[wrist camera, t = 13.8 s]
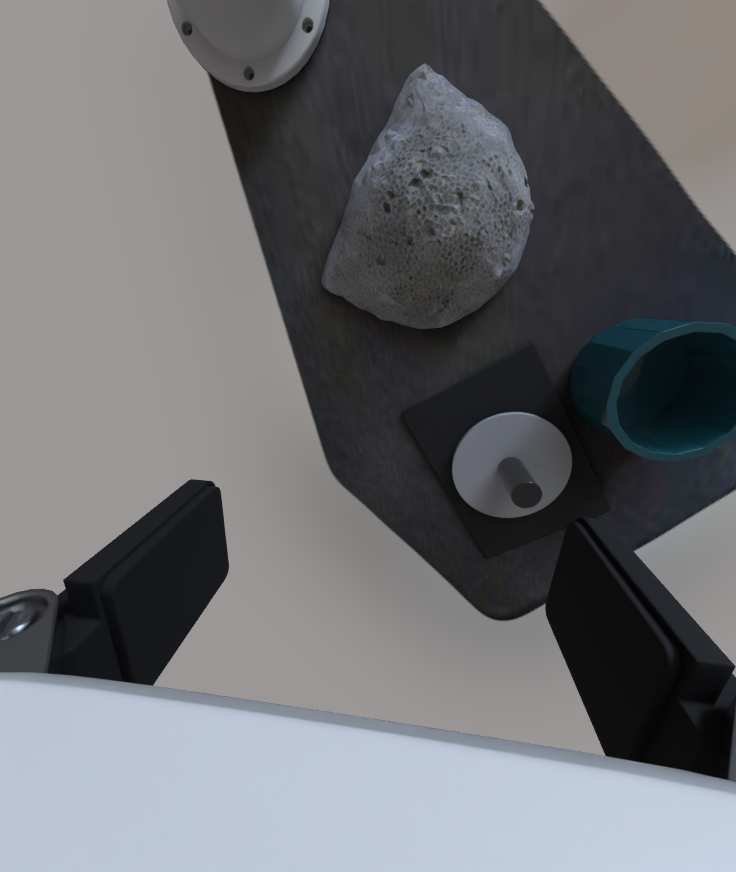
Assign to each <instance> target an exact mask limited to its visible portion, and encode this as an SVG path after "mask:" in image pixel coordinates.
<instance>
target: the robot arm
mask: <svg viewBox="0 0 736 872" xmlns="http://www.w3.org/2000/svg"><path fill="white" fill-rule="evenodd" d="M167 2H168V6H169V9H170V12H171V15H172V19H173V22H174V24H175V26H176V28H177V30H178V32H179V35H180V37H181V39H182V41H183V42H184V44H185V45H186V47H187V48H188V50H189V51H190V53H191V54H192V56H193V57H194V58H195V59H196V60H197V61H198V62H199V64H200V65H201V66H202V67H203V68H204V69H205V70H206V71H207V72H208V73H209V74H211V75H212V76H213V77H214V78H215V79H216V80H218V81H220V82H221V83H223V84H225V85H227V86H228V87H230V88H234V89H237V90H240V91H244V92H262V91H267V90H272V89H274V88H276V87H278V86H280V85H282V84H284V83H286V82H287V81H289V80H290V79H291V78H292V77H294V76H295V75H296V74H297V73H298V72H299V71H300V70H301V69H302V68H303V66H304V65H305V64H306V63H307V62H308V60H309V59H310V57H311V55H312V53H313V52H314V50H315V48H316V46H317V45H318V42H319V39H320V37H321V34H322V32H323V29H324V26H325V22H326V17H327V12H328V8H329V0H167ZM309 30H312V31H311V32H310V33H308V32H309ZM253 76H254V77H253ZM252 77H253V79H252V80H251V78H252ZM228 569H229V562H228V553H227V544H226V536H225V526H224V517H223V508H222V499H221V492H220V489H219V488H218V487H215V484H214V483H213V482H212V481H204V480H192V479H191V480H189V481H187V482H186V483H185V484H184V485H182V486H181V487H180V488H179V489H178V490H176V491H175V492H174V493H172V494H171V495H170V496H169V497H167V498H166V499H165V500H164V501H162V502H161V503H160V504H158V505H157V506H156V507H155V508H153V509H152V510H151V511H150V512H148V513H147V514H146V515H145V516H143V517H142V518H141V519H140V520H138V521H137V522H136V523H135V524H133V525H132V526H131V527H130V528H128V529H127V530H126V531H124V532H123V533H122V534H121V535H119V536H118V537H117V538H116V539H114V540H113V541H112V542H111V543H109V544H108V545H107V546H106V547H104V548H103V549H102V550H101V551H99V552H98V553H97V554H95V556H93V557H92V558H90V559H89V560H88V561H87V562H85V563H84V564H83V565H82V566H80V567H79V568H78V569H77V570H75V571H74V572H73V573H72V574H70V575H69V576H68V577H67V578H65V579H64V580H63V581H64V584H65V587H66V589H65V590H64V591H63V592H62V593H60V594H59V595H58V596H57V595H56V594H55V593H54V592H53V591H50V590H45V589H30V590H26V591H21V592H16V593H14V594H11V595H8V596H5V597H2V598H0V872H736V677H735V676H734V675H733V674H732V672H733V670H734V668H735V665H734V664H733V663H732V662H731V661H730V660H729V659H728V658H727V656H726V655H725V654H724V653H723V652H722V651H721V650H720V649H719V647H718V646H717V645H716V644H715V643H714V642H713V641H712V640H711V639H710V637H709V636H708V635H707V634H706V633H705V632H704V630H702V628H701V627H700V626H699V625H698V624H697V623H696V621H695V620H694V619H693V618H692V617H691V616H690V615H689V614H688V612H687V611H686V610H685V609H684V608H683V607H682V606H681V605H680V604H679V602H678V601H677V600H676V599H675V598H674V597H673V596H672V594H671V593H670V592H669V591H668V590H667V589H666V588H665V587H664V585H663V584H662V583H661V582H660V581H659V580H658V579H657V578H656V576H655V575H654V574H653V573H652V572H651V571H650V570H649V569H648V567H647V566H646V565H645V564H644V563H643V562H642V561H641V559H639V557H638V556H637V555H636V554H635V553H634V552H633V550H632V549H631V548H630V547H629V546H628V545H627V544H626V543H625V541H624V540H623V539H622V538H621V537H620V536H619V535H618V534H617V532H616V531H615V530H614V529H613V528H612V527H611V526H610V525H609V523H608V522H607V521H605V520H604V519H596V518H585V517H578V518H577V519H576V520H575V522H570V523H569V524H568V526H567V528H566V532H565V536H564V539H563V543H562V546H561V550H560V554H559V557H558V561H557V564H556V568H555V572H554V575H553V579H552V583H551V586H550V590H549V593H548V597H547V601H546V608H545V609H546V616H547V619H548V621H549V624H550V626H551V628H552V631H553V633H554V636H555V638H556V640H557V643H558V645H559V647H560V650H561V652H562V654H563V657H564V659H565V661H566V664H567V666H568V668H569V671H570V673H571V675H572V678H573V680H574V682H575V685H576V687H577V690H578V692H579V694H580V696H581V699H582V701H583V704H584V706H585V708H586V711H587V713H588V715H589V718H590V720H591V722H592V725H593V727H594V729H595V732H596V734H597V736H598V739H599V741H600V744H601V746H602V748H603V751H604V753H605V755H606V756H601V755H595V754H590V753H585V752H579V751H573V750H566V749H560V748H554V747H548V746H542V745H535V744H529V743H522V742H517V741H510V740H504V739H497V738H491V737H485V736H479V735H472V734H467V733H460V732H454V731H448V730H442V729H435V728H428V727H422V726H416V725H410V724H403V723H397V722H390V721H384V720H377V719H370V718H365V717H358V716H352V715H345V714H338V713H332V712H325V711H319V710H312V709H306V708H298V707H292V706H285V705H280V704H272V703H266V702H259V701H253V700H246V699H239V698H233V697H226V696H219V695H212V694H205V693H198V692H192V691H185V690H178V689H172V688H165V687H158V686H153V684H154V683H155V681H156V680H157V679H158V677H159V676H160V674H161V673H162V671H163V670H164V668H165V667H166V665H167V664H168V662H169V661H170V659H171V658H172V656H173V655H174V654H175V652H176V651H177V649H178V647H179V646H180V645H181V643H182V642H183V640H184V639H185V637H186V636H187V634H188V633H189V631H190V630H191V628H192V627H193V626H194V624H195V622H196V621H197V620H198V618H199V617H200V615H201V614H202V612H203V611H204V609H205V608H206V606H207V605H208V604H209V602H210V601H211V599H212V598H213V596H214V595H215V593H216V592H217V590H218V589H219V587H220V586H221V584H222V583H223V581H224V580H225V578H226V576H227V574H228Z"/></svg>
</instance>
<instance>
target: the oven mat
mask: <svg viewBox="0 0 736 872" xmlns="http://www.w3.org/2000/svg"><path fill="white" fill-rule="evenodd" d="M507 412H524V413H530V414H533V415H537V416H539V417H542V418H544V419H545V420H547V421H549V422H550V423H552V424H553V425H554V426H555V427H557V428H558V429H559V431H560V432H561V433H562V434H563V435H564V437H565V438H566V440H567V442H568V444H569V447H570V450H571V455H572V468H571V474H570V477H569V479H568V482H567V484H566V486H565V487H564V489H563V490H562V492H561V493H560V494H559V495H558V497H557V498H556V499H555V500H553V501H552V502H551V503H550V504H549V505H547V506H546V507H544V508H542V509H541V510H539V511H537V512H534V513H532V514H529V515H525V516H521V517H514V518H500V517H494V516H490V515H487V514H484V513H482V512H480V511H478V510H476V509H474V508H473V507H471V506H470V505H469V504H468V503H467V502H466V501H465V500H464V499H463V498H462V497H461V496H460V494H459V492H458V491H457V489H456V486H455V484H454V480H453V476H452V459H453V455H454V452H455V449H456V447H457V445H458V443H459V441H460V440H461V439H462V437H463V436H464V435H465V434H466V433H467V432H468V430H470V429H471V428H472V427H473V426H474V425H476V424H477V423H479V422H480V421H482V420H484V419H486V418H488V417H491V416H494V415H497V414H501V413H507ZM401 415H402V417H403V418H404V420H405V422H406V423H407V425H408V427H409V428H410V430H411V432H412V433H413V435H414V437H415V438H416V440H417V442H418V443H419V445H420V447H421V448H422V450H423V452H424V454H425V455H426V457H427V459H428V460H429V462H430V464H431V465H432V467H433V469H434V470H435V472H436V474H437V475H438V477H439V479H440V480H441V482H442V484H443V485H444V487H445V489H446V490H447V492H448V494H449V496H450V497H451V499H452V501H453V502H454V504H455V506H456V507H457V509H458V511H459V512H460V514H461V516H462V517H463V519H464V521H465V522H466V524H467V526H468V527H469V529H470V531H471V533H472V534H473V536H474V538H475V539H476V541H477V543H478V544H479V546H480V548H481V549H482V551H483V553H484V554H485V556H486V558H490V557H492V556H495V555H498V554H500V553H503V552H505V551H508V550H510V549H513V548H515V547H518V546H521V545H523V544H526V543H528V542H531V541H533V540H536V539H539V538H541V537H544V536H546V535H549V534H551V533H554V532H557V531H559V530H562V529H564V528H567V526H568V524H569V523H570V522H575V520H576V519H577V518H578V517H585V518H593V517H595V516H598V515H600V514H603V513H605V512H608V511H611V508H610V506H609V504H608V502H607V500H606V498H605V495H604V493H603V491H602V489H601V487H600V485H599V483H598V480H597V478H596V476H595V474H594V472H593V470H592V468H591V465H590V463H589V461H588V459H587V457H586V455H585V452H584V450H583V448H582V446H581V444H580V442H579V440H578V437H577V435H576V433H575V431H574V429H573V427H572V425H571V422H570V420H569V418H568V416H567V414H566V412H565V410H564V407H563V405H562V403H561V401H560V399H559V397H558V394H557V392H556V390H555V388H554V386H553V384H552V382H551V379H550V377H549V375H548V373H547V371H546V369H545V367H544V364H543V362H542V360H541V358H540V356H539V354H538V351H537V349H536V347H535V345H534V343H532V342H531V343H529V344H527V345H526V346H524V347H522V348H520V349H518V350H516V351H515V352H513V353H511V354H509V355H507V356H505V357H504V358H502V359H500V360H498V361H496V362H494V363H492V364H491V365H489V366H487V367H485V368H483V369H481V370H480V371H478V372H476V373H474V374H472V375H470V376H469V377H467V378H465V379H463V380H461V381H459V382H457V383H456V384H454V385H452V386H450V387H448V388H446V389H445V390H443V391H441V392H439V393H437V394H435V395H434V396H432V397H430V398H428V399H426V400H424V401H423V402H421V403H419V404H417V405H415V406H413V407H411V408H410V409H408V410H406V411H404V412H402V414H401Z"/></svg>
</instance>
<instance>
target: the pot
mask: <svg viewBox="0 0 736 872" xmlns="http://www.w3.org/2000/svg"><path fill="white" fill-rule="evenodd" d="M569 392H570V397H571V401H572V403H573V405H574V408H575V409H576V411H577V412H578V413H579V415H580V416H581V417H582V418H583V419H584V420H585V421H586V422H587V423H588V424H590V425H591V426H593V427H594V428H596V429H597V430H599V431H600V432H602V433H603V434H604V435H606V436H607V437H609V438H610V439H612V440H613V441H615V442H616V443H618V444H619V445H621V446H622V447H623V448H625V449H627V450H629V451H631V452H633V453H635V454H637V455H639V456H641V457H643V458H645V459H648V460H657V461H669V462H678V461H682V460H686V459H691V458H695V457H699V456H703V455H705V454H708V453H710V452H712V451H713V450H715V449H717V448H719V447H720V446H722V445H724V444H726V443H727V442H729V441H731V440H732V439H733V438H735V437H736V327H734V326H732V325H730V324H728V323H718V322H702V321H687V320H671V319H653V318H636V319H630V320H626V321H623V322H620V323H617V324H614V325H612V326H610V327H608V328H606V329H605V330H603V331H602V332H600V333H599V334H597V335H596V336H595V337H594V338H593V339H591V340H590V341H589V342H588V343H587V345H586V346H585V347H584V348H583V349H582V351H581V352H580V354H579V355H578V357H577V358H576V360H575V363H574V365H573V367H572V371H571V374H570V380H569Z"/></svg>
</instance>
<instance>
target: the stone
mask: <svg viewBox="0 0 736 872" xmlns="http://www.w3.org/2000/svg"><path fill="white" fill-rule="evenodd" d="M534 209H535V208H534V204H533V202H532V201H531V197H530V187H529V185H528V178H527V173H526V170H525V168H524V165H523V163H522V160H521V159H520V157H519V155H518V153H517V152H516V150H515V148H514V145H513V141H512V137H511V134H510V131H509V129H508V127H507V126H506V125H505V124H504V123H503V122H502V121H500V120H499V119H497V118H496V117H494V116H493V115H492V114H490V113H489V112H487V111H486V110H485V108H484V107H483V106H482V105H481V104H480V103H478V102H476V101H475V100H473V99H469V98H467V97H466V96H465V95H464V94H463V93H461V92H460V91H459V90H458V89H456V88H455V87H454V86H452V84H451V83H450V82H449V81H448V80H447V79H446V78H445V77H443V76H441V75H439V74H437V73H436V72H435V71H434V70H433V69H432V68H431V67H430V66H429V65H427V64H425V63H424V64H423V65H421V66H420V67H419V68H417V69H416V70H415V71H414V72H413V73H412V74H411V75H410V76H409V77H408V79H407V81H406V83H405V85H404V87H403V89H402V91H401V93H400V95H399V96H398V98H397V100H396V102H395V105H394V108H393V110H392V113H391V115H390V118H389V120H388V122H387V124H386V126H385V128H384V129H383V131H382V132H381V134H380V135H379V137H378V138H377V140H376V141H375V143H374V145H373V147H372V149H371V151H370V153H369V156H368V158H367V161H366V162H365V164H364V166H363V167H362V169H361V171H360V172H359V174H358V175H357V177H356V178H355V180H354V181H353V183H352V188H351V193H350V197H349V201H348V203H347V205H346V208H345V211H344V214H343V218H342V221H341V225H340V228H339V230H338V232H337V234H336V237H335V239H334V242H333V245H332V247H331V249H330V252H329V255H328V258H327V260H326V263H325V266H324V270H323V273H322V277H321V278H322V285H323V287H324V288H325V289H326V290H327V291H329V292H330V293H332V294H335V295H337V296H342V297H343V298H345V299H346V300H347V301H349V302H350V303H352V304H354V305H355V306H357V307H358V308H360V309H361V310H364V311H367V312H370V313H372V314H374V315H375V316H377V317H378V318H379V319H381V320H384V321H393V322H396V323H398V324H401V325H404V326H409V327H413V328H419V329H428V328H440V327H444V326H447V325H449V324H451V323H453V322H455V321H457V320H459V319H461V318H463V317H464V316H466V315H468V314H470V313H472V312H474V311H477V310H478V309H480V308H481V306H482V305H483V304H484V303H486V302H487V301H488V300H489V299H490V298H492V297H493V296H494V295H495V294H496V293H498V291H499V290H500V289H501V288H502V287H503V285H504V284H505V283H506V281H508V280H509V278H510V277H511V276H512V275H513V273H514V272H515V271H516V269H517V266H518V264H519V261H520V259H521V256H522V253H523V251H524V248H525V245H526V242H527V239H528V234H529V225H530V223H531V221H532V220H533V212H534Z"/></svg>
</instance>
